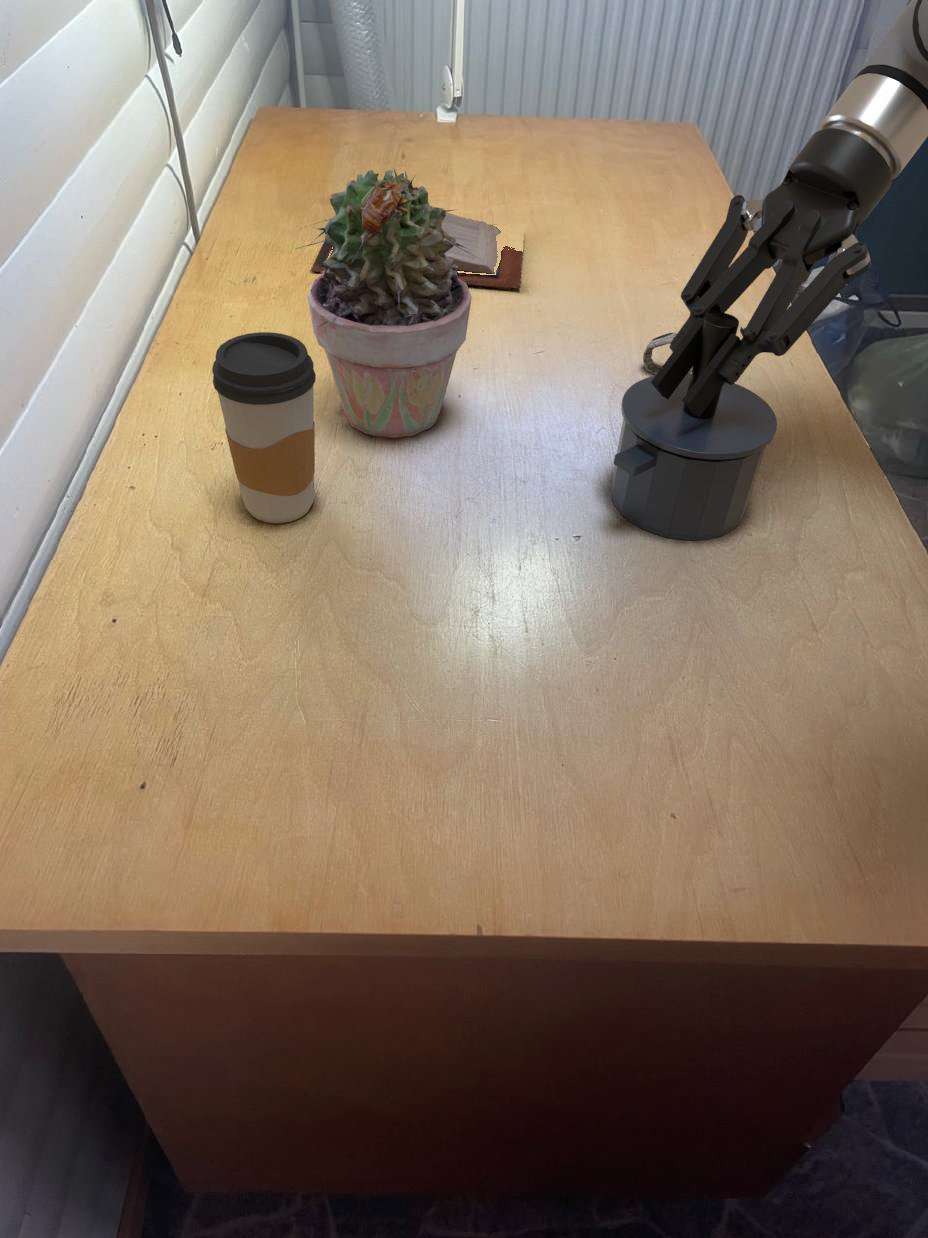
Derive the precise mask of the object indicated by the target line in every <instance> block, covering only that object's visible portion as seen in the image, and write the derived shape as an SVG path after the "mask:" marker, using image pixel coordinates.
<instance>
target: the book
mask: <svg viewBox="0 0 928 1238" xmlns="http://www.w3.org/2000/svg"><path fill="white" fill-rule="evenodd" d="M493 225H494V224H492V225H491V223H487V222H485V221H483V220H478V219H472V218H466V217H464V216H460V215H456V214H452V213H449V212H446V216H445V218H444V220H443V221H442V226H441V227H442V230H444V231H447V233H448V234H449V235H450V236H451V237H452V238H453V237H456V238H454V239H456V243H458V244H460V245H462V246H464V247H466V248H463V247H460V248H461V249H460V248H458V247H459V246H458V247H456V246H453V247H452V248H451V249H450V250H448V251H447V252H446V253H444V254H445V255H446V256H448V257H449V258H451V259H452V260H454V262H453V264H455V265H456V266H457V267H458V268H457V271H464V272H472V273H486V274H495V272H494V267H495V266H496V263H497V258H498V256H497V255H498V254H497V252H498V251H497V241H496V236H497V235H498V234H500V233H501V231H500V230H499V229H498V228H497V227H495V226H493ZM458 238H460V239H458ZM463 239H465V240H463ZM468 240H469V241H468ZM473 241H474V242H473ZM320 247H321V248H319V249H320V250H319V252H318V254H317V255H316V258H315V259H314V262H313V263H312V266H311V268H310V269H309V271H310V272H313V273H321V272H323V271H324V270H325V269H326V266H324V264H323V262H324V261H326V260H327V258H328V256H329V253H330V251H328V250H330V249H332V247H333V246H331V245H330V244H328V243H327V242H326V241H325V242H322V245H321V246H320ZM467 248H468V249H467ZM503 248H504V249H503V250H502V251H501V260H500V263H499V266H498V268H497V270H496V275H480V274H466V273H460V274H459V273H457V276H458V278H459V279H461V280H462V281H463V282H465V283H466V284H467V285H469V286H470V285H471V286H479V287H487V288H495V289H501V290H504V291H508V290H511V289H521V283H522V281H521V280H522V273H523V272H522V270H523V268H522V267H523V260H524V253H525V252H524V251H523V252H522V251H516V250H514V249H515V248H512V247H511V248H512V249H511V248H510V247H508V246H505V247H503ZM462 249H463V250H462ZM470 249H471V250H470ZM508 249H509V250H508ZM464 250H465V251H464ZM472 250H473V251H472ZM325 251H326V252H325ZM466 251H467V252H466ZM475 251H476V252H475ZM322 252H323V253H322ZM334 252H335V250H333V251H332V253H331V255H332V254H333V253H334ZM468 252H469V253H471V254H472V255H471V254H469V253H468ZM331 255H330V256H331ZM473 255H474V256H473ZM475 256H476V257H475ZM478 258H479V259H478ZM480 259H481V260H480ZM461 274H462V275H461Z"/></svg>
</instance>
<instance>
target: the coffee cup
mask: <svg viewBox="0 0 928 1238" xmlns="http://www.w3.org/2000/svg"><path fill="white" fill-rule="evenodd" d="M314 367H315V364H314V361H313V360H312V356H311V355H310V354H309V353H308V349H307V347H306V345H305V343H303V342H302V341H301V340H300V339H298V338H295V337H294V336H291V335H288V334H284V333H280V332H279V333H278V332H270V331H267V332H264V331H263V332H260V331H259V332H251V333H244V334H241V335H237V336H235V337H232V338H230V339H228V340H226V341H225V342H223V343H221V344H220V346H219V347H218V348H217V349H216V353H215V360H214V362H213V364H212V368H211V369H212V370H211V372H212V375H213V377H212V384H213V386H214V389H215V391H216V392H217V395H218V396H217V397H218V401H219V405H220V409H221V412H222V417H223V421H224V425H225V428H224V429H225V430H224V431H225V434H226V440H227V443H228V447H229V452H230V456H231V460H232V464H233V465H232V466H233V468H234V473H235V476H236V479H237V482H238V485H239V489H240V494H241V499H242V502H243V505H244V508H245V509H246V511H248V513H249V514H250V515H251V516H252V517H254V519H256V520H258V521H261V522H264V523H267V524H268V523H269V524H285V523H290V522H293V521H296V520H298V519H300V518H303V517H304V516H305V515H306V514H307V513H308V512H309V511H310V509H311V507H312V505H313V503H314V501H315V473H316V472H315V470H316V469H315V468H316V467H315V466H316V464H315V463H316V452H315V451H316V448H315V446H316V445H315V444H316V443H315V440H316V439H315V438H316V436H315V434H316V433H315V432H316V431H315V430H316V429H315V426H316V425H315V424H316V423H315V419H314V418H315V417H314V416H315V415H314V414H315V413H314V411H315V410H314V409H315V407H314V406H315V405H314V385H315V383H316V380H317V379H316V378H317V377H316V376H317V374H316V372H315V369H314Z"/></svg>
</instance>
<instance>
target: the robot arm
mask: <svg viewBox="0 0 928 1238" xmlns="http://www.w3.org/2000/svg"><path fill="white" fill-rule="evenodd" d="M927 138H928V0H908V1H907V3H906V6H905V7H904V9H903V10H902V12H901V13H900V14H899V16H898V17H897V19H896V20H895V22H893V24H892V26H890V28H889V30H888V31H887V32H886V34H885V36H884V37H883V38H882V40H881V41H880V43H879V44H878V46H876V48H875V50H874V51H873V53H872V54H871V56H870V57H869V59H868V60H866V63H865V65H864V66H863V67H862V68H861V70H860V71H859V72H858V73H857V75H856V76H855V77H854V78H853V79H852V81H851V82H850V83H849V84H848V85H847V87H846V89H845V90H844V91H843V93H842V94H841V95H840V97H839V98H838V99H837V101H836V102H835V103H834V104H833V106H832V108H831V109H830V110H829V111H828V113H827V114H826V116H825V117H824V118H823V119H822V121H821V122H820V124H819V130H817V131H815V132H814V133H813V134H812V135H811V137H810V138H809V139H808V141H807V142H806V144H805V145H804V146H803V148H802V149H801V151H800V152H799V153H798V155H797V156H796V157H795V159H794V160H793V162H792V163H791V164H790V166H789V168H788V170H787V172H786V174H785V177H784V179H783V181H782V182H781V184H779V185H778V186H777V187H775V188H774V189H773V190H772V191H770V192H768V194H767V195H765V197H764V199H757V200H746V199H745V196H743V195H742V194H736V195H735V196H733V197H732V198H731V199H730V202H729V206H728V209H727V212H726V213H727V214H726V216H725V217H726V218H725V221H724V222H723V224H722V226H721V227H720V229H719V230H718V232H717V234H716V236H715V237H714V238H713V240H712V242H711V243H710V245H709V247H707V250H706V251H705V253H704V255H703V257H702V258H701V260H700V262H699V263H698V265H697V267H696V268H695V270H694V272H693V273H692V274H691V276H690V277H689V280H688V281H687V283H686V285H684V287H683V289H682V291H681V293H680V298H681V300H682V302H683V303H684V305H685V306H686V308H687V310H688V311H689V316H688V318H687V319H686V321H685V322H684V323H683V325H682V326H681V327H680V329H679V331H678V332H676V334H677V335H676V336H675V337H674V339H673V340H672V341H671V344H669V349H670V350H671V354H670V355H669V357H668V358H667V360H666V361H665V362H664V364H663V365H662V366H661V367H660V368H661V369H660V370H659V372H658V373H657V374H656V375H654V376H655V377H654V379H653V380H652V381H651V383H652V384H653V386H654V387H655V388H656V389H657V391H658V392H659V393H660V394H661V396H663V397H665V398H666V399H669V398H670V396H671V395H672V394H673V392H674V391H675V390H676V388H677V387H678V385H679V384H680V383H681V381H682V380H683V379H684V377H685V376H686V375H687V373H688V372H689V371H690V369H691V368H692V367H693V365H694V361H695V356H696V352H697V348H698V344H699V340H700V335H701V331H702V327H703V323H704V318H705V316H706V315H707V314H709V313H714V312H721V313H726V312H727V311H728V310H729V309H730V308H731V307H732V306H733V304H734V303H735V302H736V301H737V300H738V299H739V298H740V297H741V295H743V294H744V293H745V291H747V289H748V288H749V287H750V286H751V285H752V284H753V283H754V282H755V281H756V280H757V279H758V278H759V277H760V275H761V274H762V273H763V272H764V271H765V270H768V269H771V268H772V267H773V266H774V265H775V264H776V263H777V262H778V260H782V262H781V265H780V266H779V268H778V270H777V272H776V273H775V276H774V277H773V279H772V281H771V283H770V285H769V286H768V288H767V290H766V291H765V293H764V295H763V296H762V298H761V300H760V302H759V304H758V305H757V308H755V310H754V311H753V314H752V316H751V317H750V319H749V321H748V323H747V325H746V326H745V327H743V326H740V329H739V332H740V334H741V336H742V338H740V336H738V335H737V334H736V335H734V334H732V333H731V335H730V336H729V337H728V339H727V340H726V342H725V343H724V344H723V346H722V347H721V348H720V350H719V351H718V352H717V354H716V355H715V356H714V358H713V359H712V360H711V362H710V363H709V365H708V366H707V367H706V369H705V370H704V371H703V373H702V374H701V375H700V377H699V378H698V379H697V381H696V382H695V383H694V385H693V386H692V387H691V389H690V390H689V392H688V393H687V394H686V396H685V397H684V398H683V402H684V403H685V404H686V406H687V407H688V408H689V409H690V411H691V412H692V413H693V414H694V415H696V416H698V417H700V416H701V414H702V413H703V412H704V410H705V409H706V408H707V406H708V405H709V404H710V402H711V401H712V400H713V398H714V397H715V396H716V394H717V393H718V392H719V390H720V389H721V387H722V386H723V385H724V383H725V382H726V383H728V384H730V385H732V384H734V383H735V384H736V382H738V380H739V379H740V377H741V376H742V375H743V373H744V372H745V371H746V369H748V368H749V366H750V364H751V363H752V362H753V360H754V359H755V358H756V357H757V356H758V355H760V354H762V353H767V354H773V355H774V356H776V357H783V356H784V355H785V354H786V353H788V351H789V350H790V349H791V348H792V347H793V346H794V344H795V343H796V342H797V341H798V340H799V339H800V338H801V337H802V336H803V334H804V333H805V332H806V331H807V330H808V329H809V328H810V326H811V325H812V324H813V323H814V322H815V321H816V320H817V319H818V318H819V316H820V315H821V314H822V313H823V312H824V311H825V310H826V308H827V307H828V306H829V305H830V304H831V303H832V302H833V301H834V300H835V298H836V297H838V295H839V294H840V293H841V291H843V290H844V288H845V287H846V286H847V285H848V284H849V283H851V282H852V281H853V282H854V280H856V279H857V278H859V277H860V276H862V275H864V274H865V273H866V272H868V271H869V270H871V267H872V261H871V256H870V252H869V250H868V246H867V244H866V243H865V242H863V241H859V240H858V239H857V238H858V235H859V228H860V225H861V224H862V223H863V222H865V221H866V220H867V219H868V218H869V216H870V214H871V213H872V212H873V211H874V209H875V208H876V207H877V205H878V204H879V202H880V201H881V200H882V199H883V198H884V196H885V195H886V194H887V192H888V191H889V189H890V188H891V186H892V180H895V179H896V178H897V177H898V176H899V175H900V174H901V173H902V171H903V170H904V169H905V167H906V166H907V165H908V164H909V162H910V161H911V159H912V158H913V157H914V156H915V154H916V153H917V151H918V150H919V149H920V147H921V146H922V144H923V143H924V142H925V141H926V140H927ZM760 219H761V222H760V223H761V225H760V227H759V228H758V229H757V231H756V232H754V234H752V235H751V237H750V239H748V240H749V241H748V244H747V247H746V248H745V249H744V250H743V251H742V252H741V253H740V254H739V255H738V257H737V258H736V256H737V254H738V253H739V251H740V249H741V248H742V246H743V245H744V243H745V241H746V239H747V236H748V234H749V232H752V231H753V230H754V229H755V227H756V224H757V222H758V221H759V220H760ZM833 254H834V256H833V258H832V259H831V260H830V261H829V262H828V263H827V264H826V265H825V266H824V267H823V268H822V269H821V270H820V272H818V274H817V275H816V276H815V277H814V278H813V280H812V281H811V282H810V283H809V284H808V285H807V286H806V287H805V288H804V289H803V290H802V292H801V293H800V294H799V295H798V297H797V298H796V299H794V298H795V296H796V295H797V293H798V291H799V290H800V287H801V286H802V284H804V283H806V282H807V281H808V279H809V278H810V275H811V274H812V272H813V271H814V269H815V268H816V265H817V263H818V262H819V261H821V260H823V259H825V258H827V257H829V256H832V255H833ZM735 258H736V259H735ZM734 259H735V260H734ZM793 300H794V301H793Z"/></svg>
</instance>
